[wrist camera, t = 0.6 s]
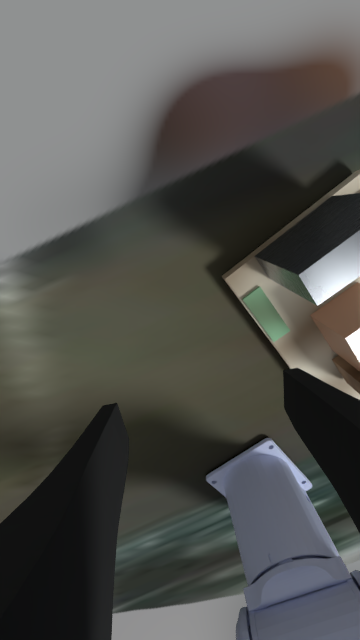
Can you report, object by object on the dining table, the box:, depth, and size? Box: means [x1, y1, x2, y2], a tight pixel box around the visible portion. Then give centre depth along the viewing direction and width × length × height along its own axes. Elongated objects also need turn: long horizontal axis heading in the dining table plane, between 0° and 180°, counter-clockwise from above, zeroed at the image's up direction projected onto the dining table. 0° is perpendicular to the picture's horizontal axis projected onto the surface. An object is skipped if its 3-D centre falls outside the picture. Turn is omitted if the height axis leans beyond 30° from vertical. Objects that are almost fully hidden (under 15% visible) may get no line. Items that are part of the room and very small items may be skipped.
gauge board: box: [222, 170, 360, 400], centre depth 20 cm, size 17×11×1 cm, turn 38°
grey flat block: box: [254, 193, 360, 306], centre depth 15 cm, size 2×6×7 cm, turn 129°
